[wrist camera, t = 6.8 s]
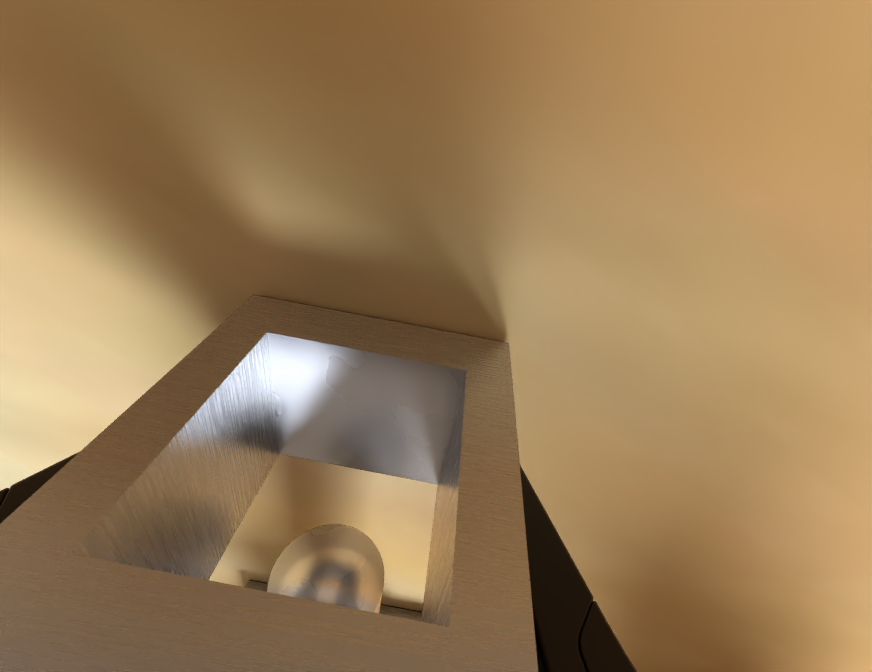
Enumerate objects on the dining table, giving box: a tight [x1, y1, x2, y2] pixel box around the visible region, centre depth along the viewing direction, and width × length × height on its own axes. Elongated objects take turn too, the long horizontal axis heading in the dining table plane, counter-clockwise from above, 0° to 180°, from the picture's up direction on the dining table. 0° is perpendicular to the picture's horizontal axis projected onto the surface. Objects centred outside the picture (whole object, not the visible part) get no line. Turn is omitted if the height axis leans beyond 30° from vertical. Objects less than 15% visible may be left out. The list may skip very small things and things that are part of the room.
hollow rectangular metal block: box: [0, 295, 538, 672], centre depth 8 cm, size 6×4×8 cm, turn 81°
